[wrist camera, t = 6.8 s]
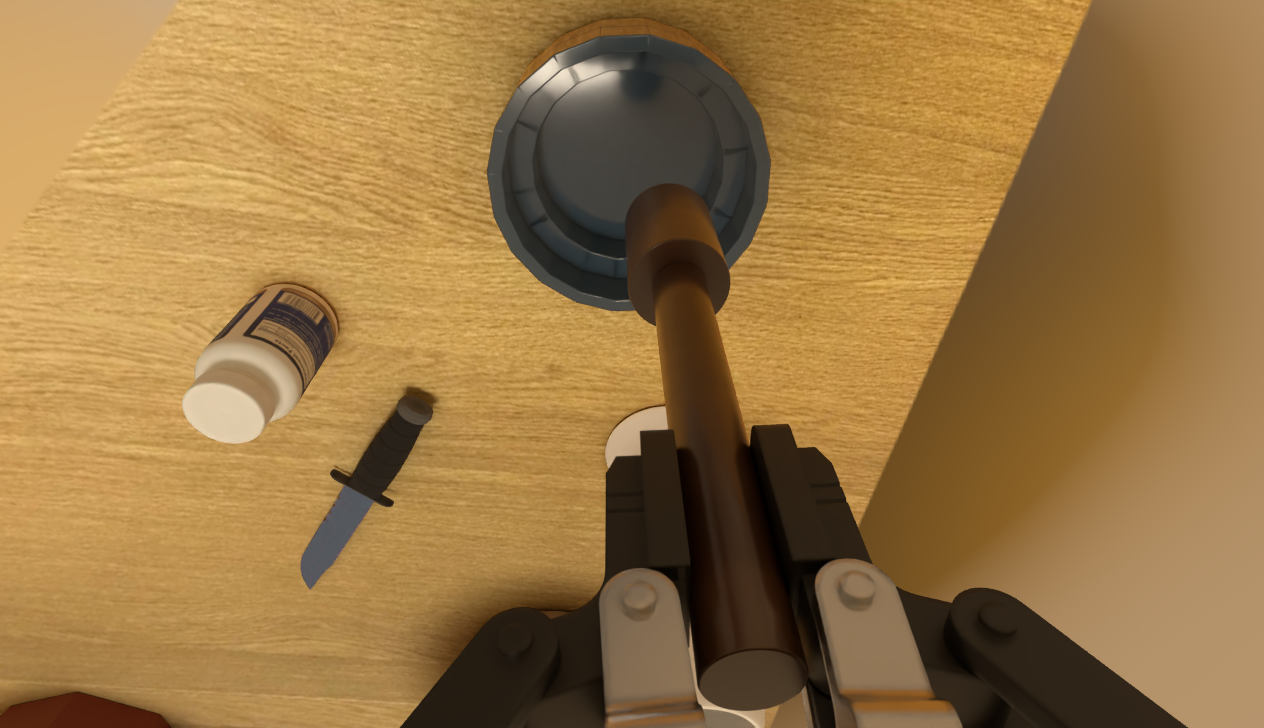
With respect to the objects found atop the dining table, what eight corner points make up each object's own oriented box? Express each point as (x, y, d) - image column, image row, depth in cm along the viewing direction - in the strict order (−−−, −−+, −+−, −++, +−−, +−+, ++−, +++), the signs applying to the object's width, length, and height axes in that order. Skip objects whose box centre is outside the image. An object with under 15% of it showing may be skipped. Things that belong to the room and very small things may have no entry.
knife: (373, 394, 43) (442, 434, 44) (389, 374, 45) (455, 412, 46) (264, 582, 55) (321, 610, 56) (281, 560, 57) (335, 587, 58)
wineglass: (586, 428, 48) (573, 721, 31) (701, 388, 47) (757, 675, 29) (632, 507, 53) (644, 802, 35) (738, 474, 51) (806, 766, 34)
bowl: (487, 21, 34) (466, 40, 29) (757, 11, 34) (782, 28, 29) (520, 266, 41) (508, 316, 36) (740, 258, 41) (758, 306, 36)
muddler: (622, 184, 24) (644, 621, 9) (711, 180, 24) (876, 610, 9) (626, 266, 26) (650, 741, 11) (709, 262, 26) (843, 733, 11)
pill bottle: (272, 359, 44) (197, 460, 36) (236, 286, 41) (145, 378, 33) (352, 350, 44) (295, 449, 36) (322, 276, 41) (252, 366, 33)
